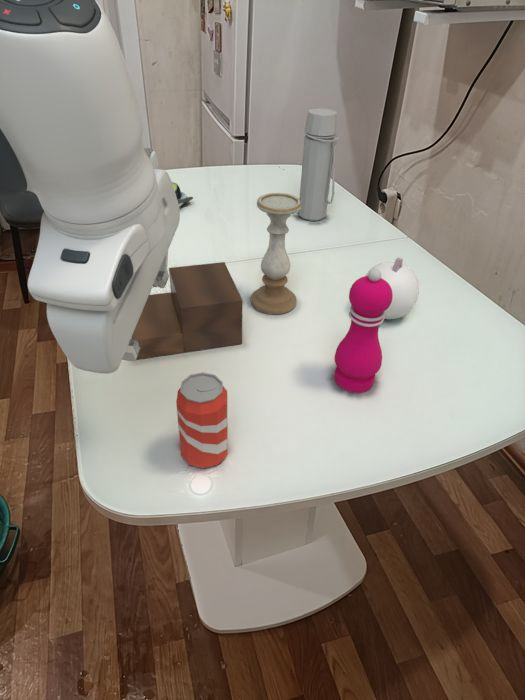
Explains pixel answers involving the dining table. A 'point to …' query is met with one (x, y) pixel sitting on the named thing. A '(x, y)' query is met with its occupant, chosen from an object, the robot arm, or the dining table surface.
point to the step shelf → (191, 313)
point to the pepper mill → (363, 334)
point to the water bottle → (318, 163)
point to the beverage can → (202, 420)
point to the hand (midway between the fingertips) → (146, 317)
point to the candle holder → (276, 255)
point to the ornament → (399, 287)
